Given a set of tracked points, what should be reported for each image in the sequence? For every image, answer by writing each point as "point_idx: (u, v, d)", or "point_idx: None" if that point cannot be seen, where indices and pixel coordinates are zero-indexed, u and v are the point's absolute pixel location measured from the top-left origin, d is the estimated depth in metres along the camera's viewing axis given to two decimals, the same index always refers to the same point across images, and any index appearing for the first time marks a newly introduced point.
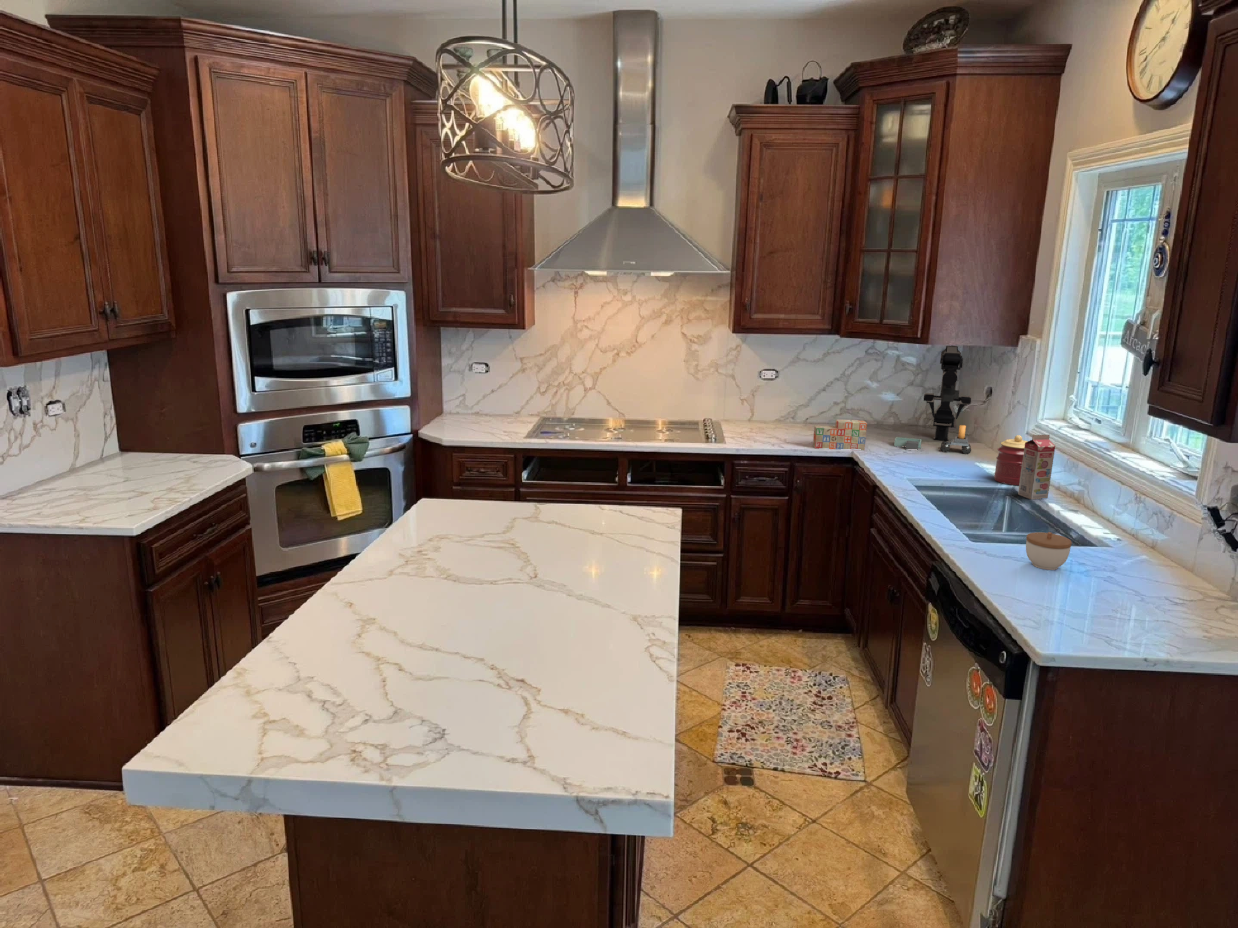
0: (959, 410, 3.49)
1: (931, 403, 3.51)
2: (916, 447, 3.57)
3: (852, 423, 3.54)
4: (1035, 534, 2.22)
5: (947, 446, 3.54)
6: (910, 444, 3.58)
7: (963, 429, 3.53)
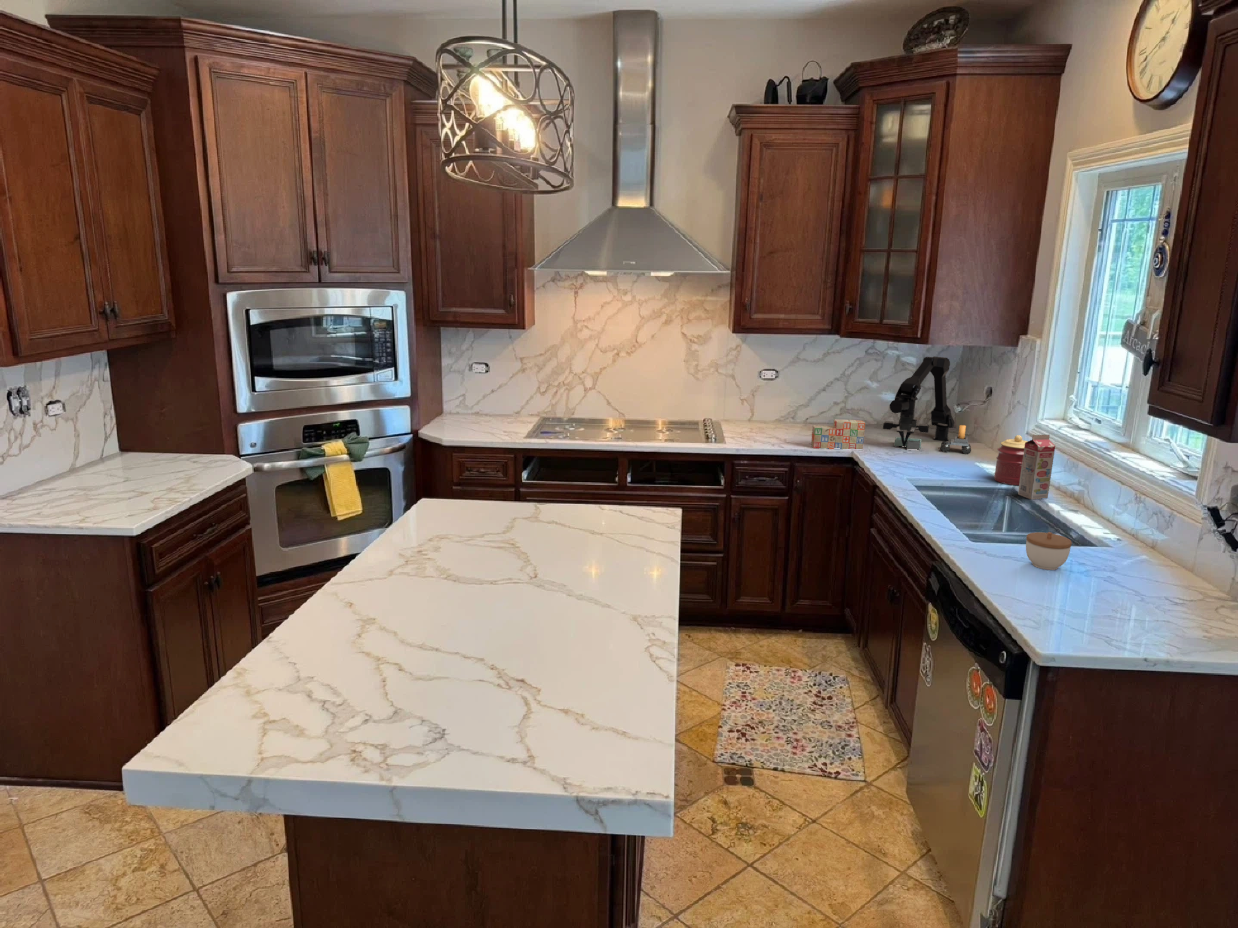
0: (906, 437, 3.58)
1: (901, 432, 3.58)
2: (917, 447, 3.57)
3: (850, 423, 3.55)
4: (1035, 534, 2.22)
5: (947, 446, 3.54)
6: (911, 444, 3.57)
7: (963, 429, 3.53)
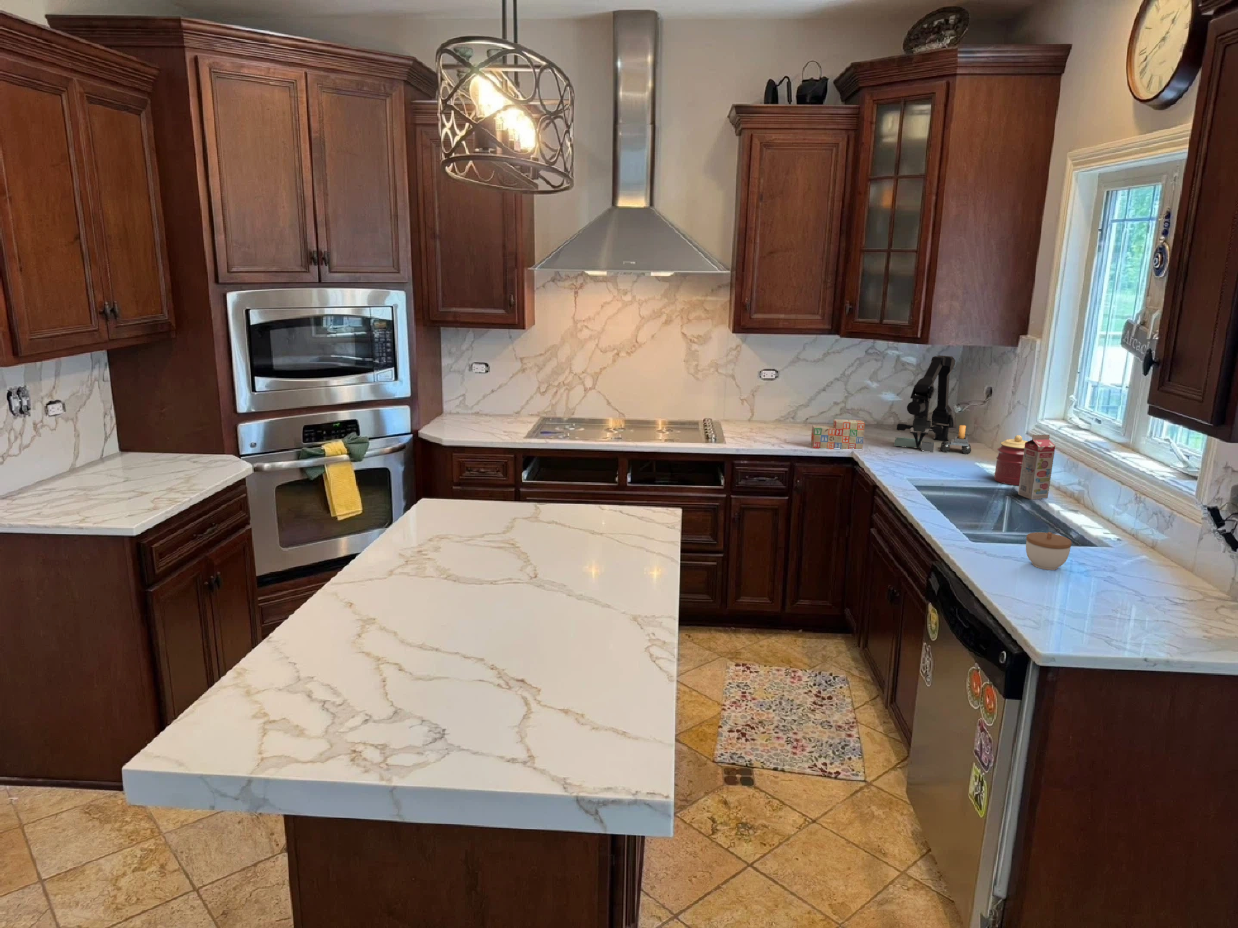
0: (920, 439, 3.57)
1: (915, 433, 3.56)
2: (932, 448, 3.55)
3: (850, 423, 3.55)
4: (1035, 534, 2.22)
5: (947, 446, 3.54)
6: (925, 445, 3.55)
7: (963, 429, 3.53)
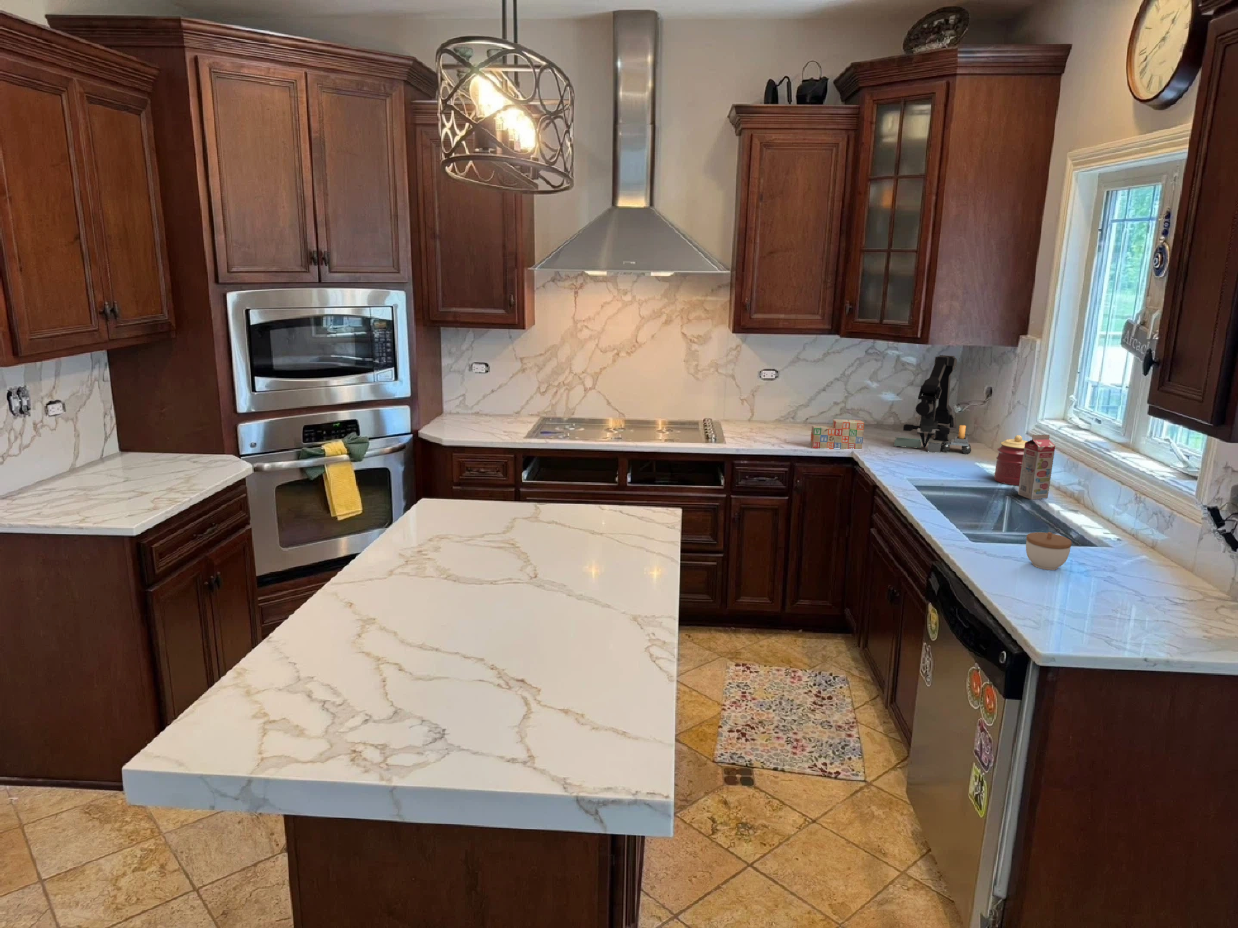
0: (927, 439, 3.56)
1: (921, 434, 3.55)
2: (938, 448, 3.54)
3: (849, 423, 3.55)
4: (1035, 534, 2.22)
5: (947, 446, 3.54)
6: (932, 445, 3.54)
7: (963, 429, 3.53)
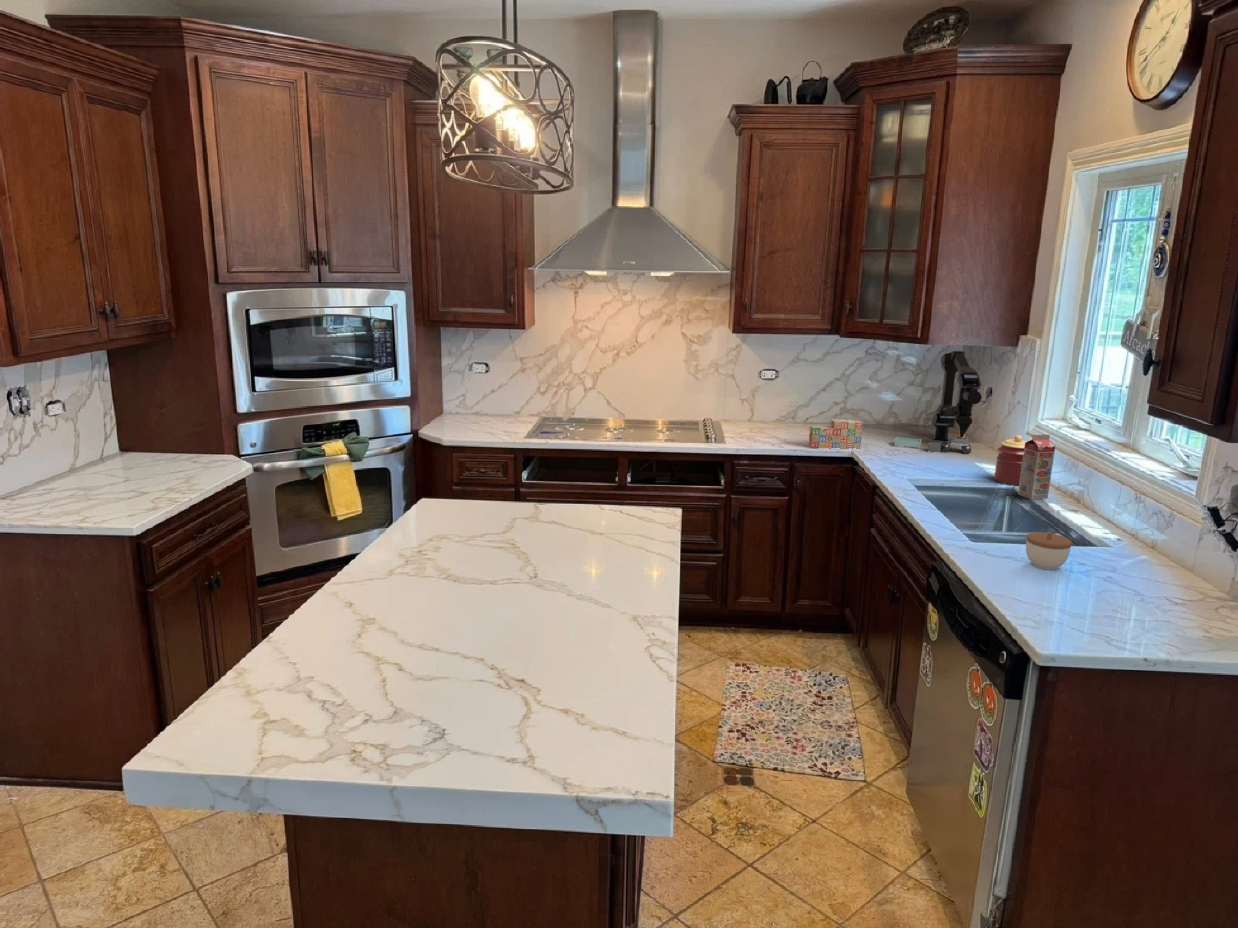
0: (959, 428, 3.53)
1: None
2: (938, 449, 3.54)
3: (848, 423, 3.55)
4: (1035, 534, 2.22)
5: (947, 446, 3.54)
6: (932, 446, 3.55)
7: None
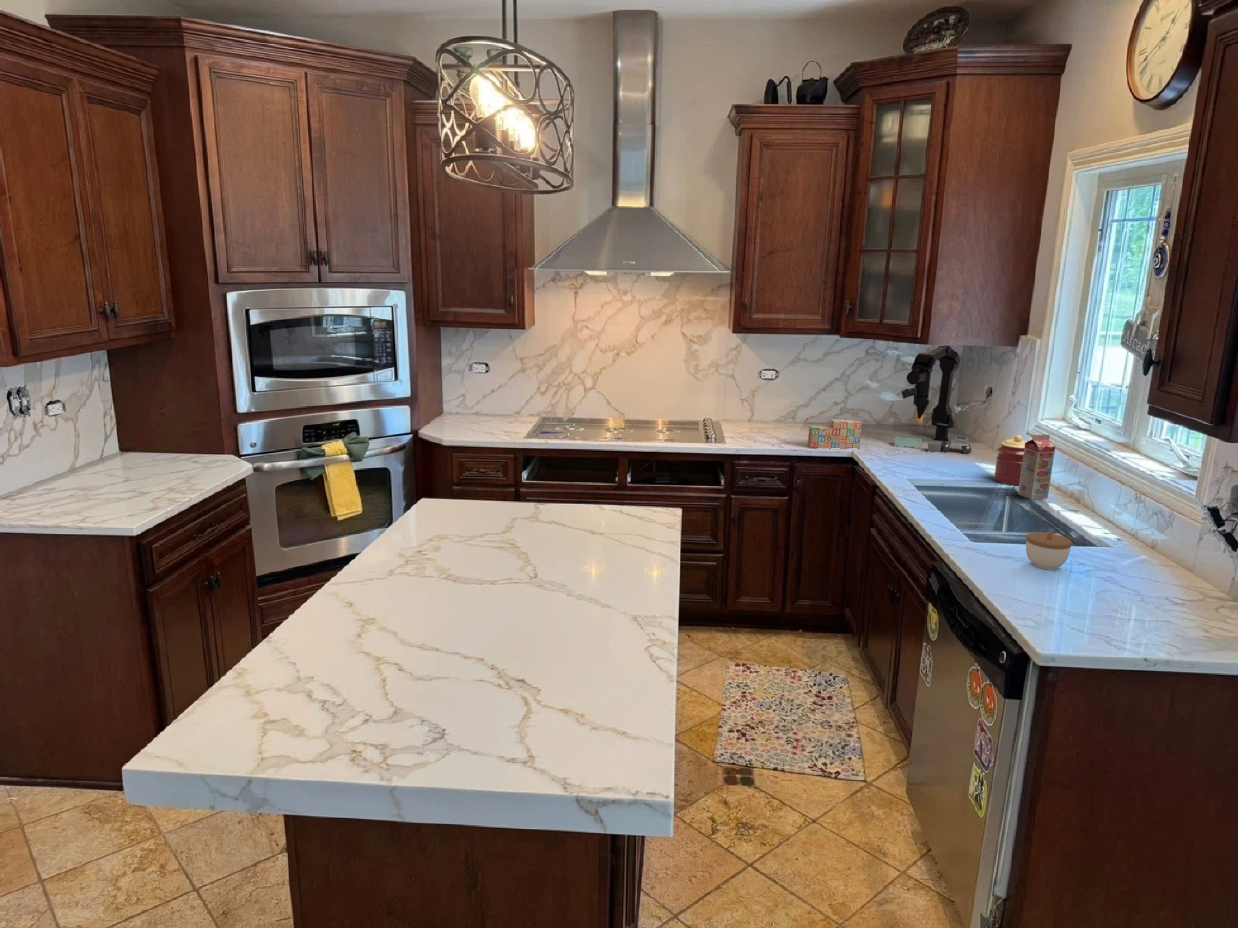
0: (917, 409, 3.59)
1: None
2: (938, 449, 3.54)
3: (847, 423, 3.55)
4: (1035, 534, 2.22)
5: (947, 446, 3.54)
6: (932, 446, 3.54)
7: None
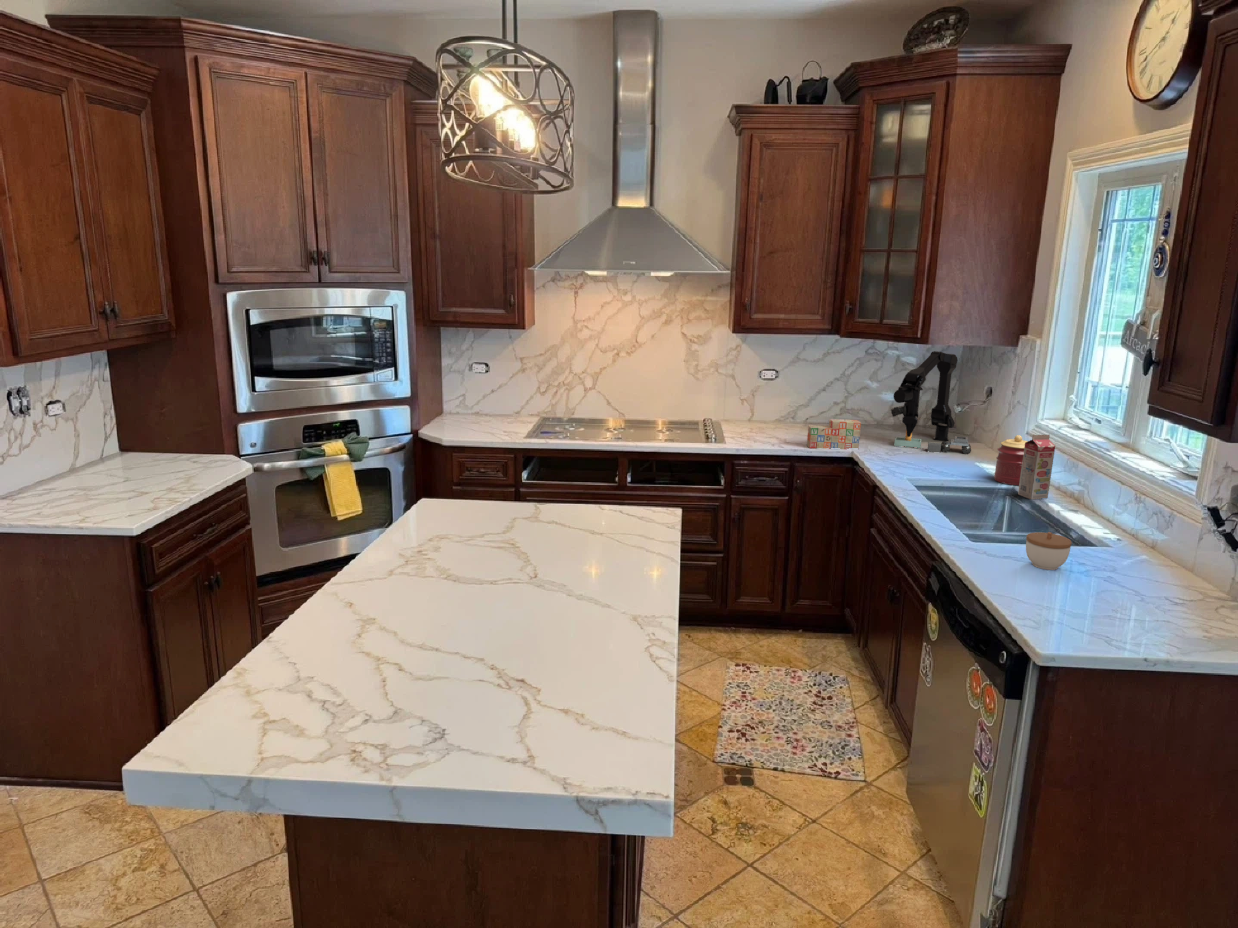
0: (906, 427, 3.62)
1: None
2: (938, 449, 3.54)
3: (846, 423, 3.55)
4: (1035, 534, 2.22)
5: (947, 446, 3.54)
6: (932, 446, 3.54)
7: None
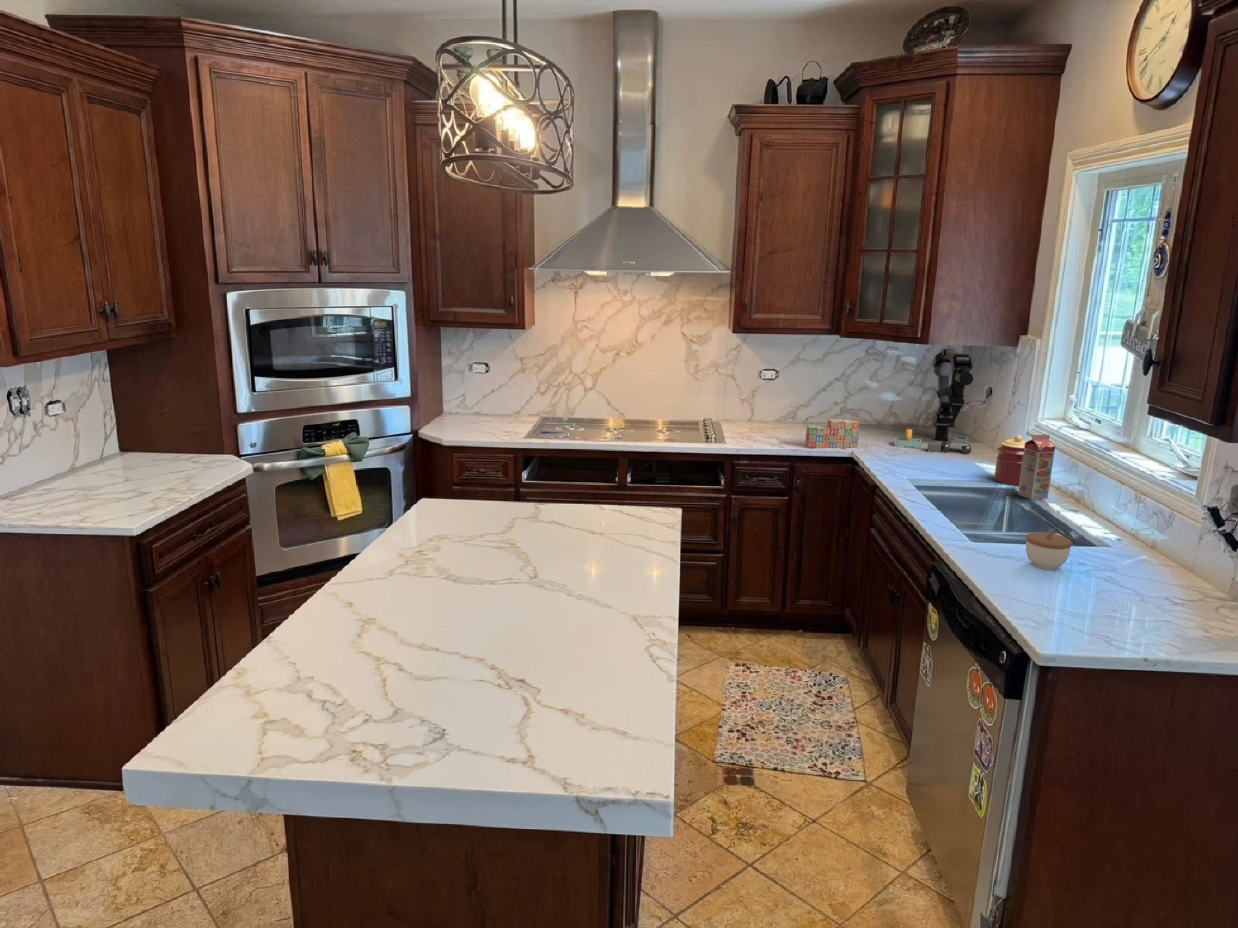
0: (952, 410, 3.60)
1: (949, 400, 3.70)
2: (938, 449, 3.54)
3: (845, 423, 3.55)
4: (1035, 534, 2.22)
5: (947, 446, 3.54)
6: (932, 446, 3.54)
7: (909, 433, 3.64)
